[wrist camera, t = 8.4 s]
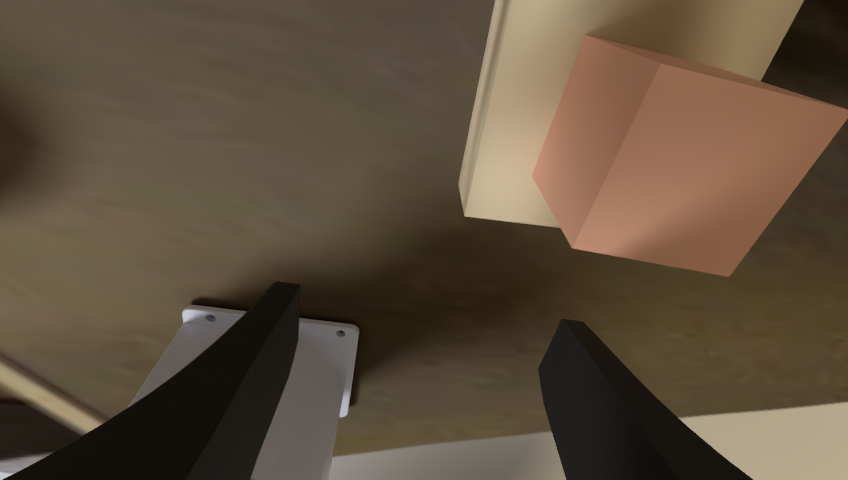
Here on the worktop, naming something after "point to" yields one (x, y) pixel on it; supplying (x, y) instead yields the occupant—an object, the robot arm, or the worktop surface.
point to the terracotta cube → (674, 156)
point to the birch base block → (551, 67)
